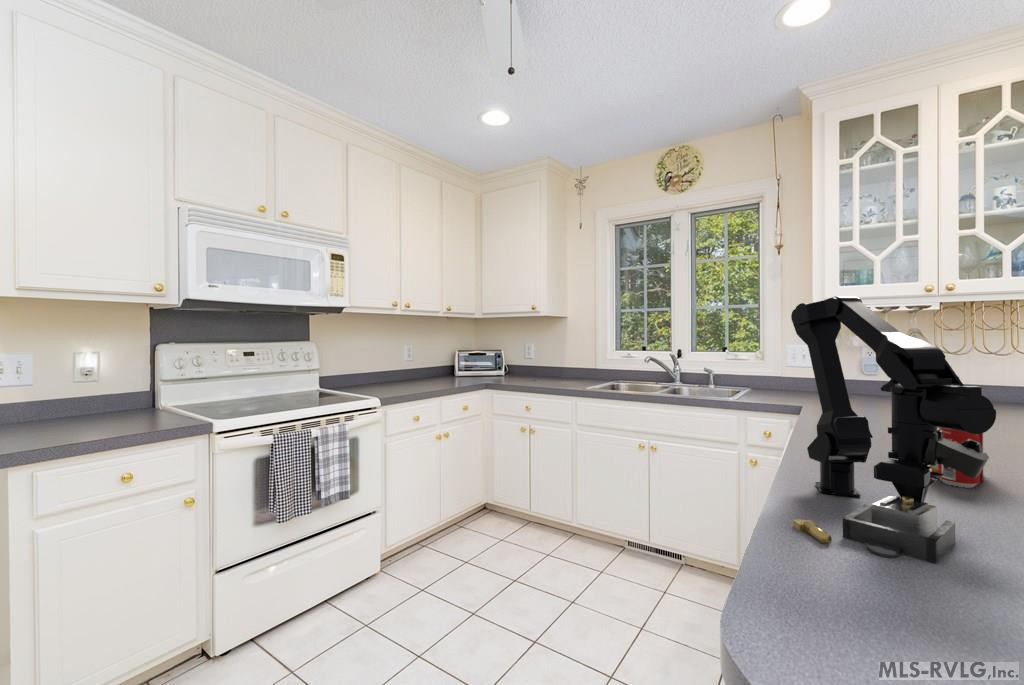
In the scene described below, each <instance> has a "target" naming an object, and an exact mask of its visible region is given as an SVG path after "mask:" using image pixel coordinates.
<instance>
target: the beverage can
mask: <svg viewBox="0 0 1024 685" xmlns="http://www.w3.org/2000/svg"><path fill="white" fill-rule="evenodd" d="M941 431H943V438H944V439H946V440H949V441H952V442H954V441H956V442H958V444H961V443H963V442H965V441H966V440H968V439H971V440H974V441H976V442H979V435H978V434H972V433H967V432H962V431H957V430H952V429H947V428H941ZM938 473H941V474H943V476H942V477H941V478H939V480H940V481H942V483H943V484H946V485H948V486H951V485H953V486H952V487H956V486H958V487H957V488H963V487H964V489H965V488H966V489H967V488H969V489H972V488H975V486H977V485H979V484H980V483H981V482H980V475H978V476H977V477H976V478H971V477H968V476H965V475H963V474H962V473H961V472H959V471H957V470H955V469H952V468H949V469H948V468H944V466H943V464H938Z"/></svg>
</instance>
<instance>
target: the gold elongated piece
mask: <svg viewBox="0 0 1024 685" xmlns="http://www.w3.org/2000/svg"><path fill="white" fill-rule="evenodd" d="M792 527H793V528H794V529H796V531H798V532H800V533H801V532H802V533H805V532H806V533H808V534H809V535H811V536H812V537H814V538H815V539H816V540H817V541H819V542H820V543H822V544H823V545H825V546H826V545H827V546H828V545H830V544H831V543H832V541H833V540H832V539H833V538H832V536H831V535H830V534H828V533H827V532H825V531H824V530H822V529H821V528H819V527H818V523H816V522H815V521H813V520H811V519H792Z"/></svg>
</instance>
